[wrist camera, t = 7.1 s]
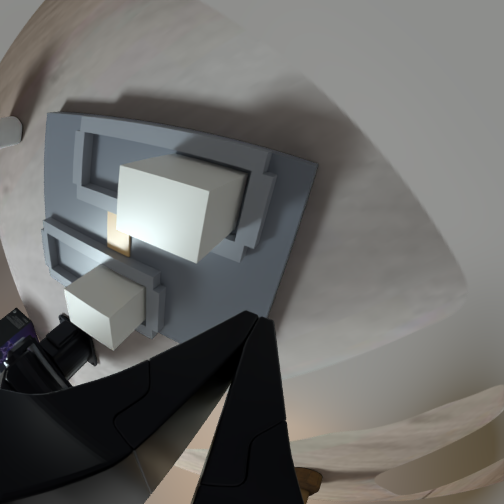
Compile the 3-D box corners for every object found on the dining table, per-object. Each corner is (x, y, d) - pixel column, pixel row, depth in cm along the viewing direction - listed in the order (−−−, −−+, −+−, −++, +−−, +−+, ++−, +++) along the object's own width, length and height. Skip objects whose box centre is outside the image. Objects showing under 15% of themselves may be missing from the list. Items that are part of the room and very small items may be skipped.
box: (55, 377, 47) (23, 408, 37) (38, 361, 48) (6, 390, 38) (33, 321, 39) (-11, 357, 29) (16, 306, 41) (-25, 336, 30)
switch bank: (251, 361, 24) (241, 381, 22) (60, 263, 28) (45, 272, 26) (319, 162, 16) (314, 166, 14) (59, 110, 20) (39, 112, 18)
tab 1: (148, 316, 23) (113, 350, 19) (106, 293, 24) (70, 321, 20) (149, 284, 22) (109, 318, 17) (104, 261, 23) (63, 288, 18)
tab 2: (235, 228, 18) (196, 263, 13) (166, 204, 18) (116, 229, 14) (248, 173, 16) (209, 191, 12) (174, 153, 17) (119, 165, 12)
